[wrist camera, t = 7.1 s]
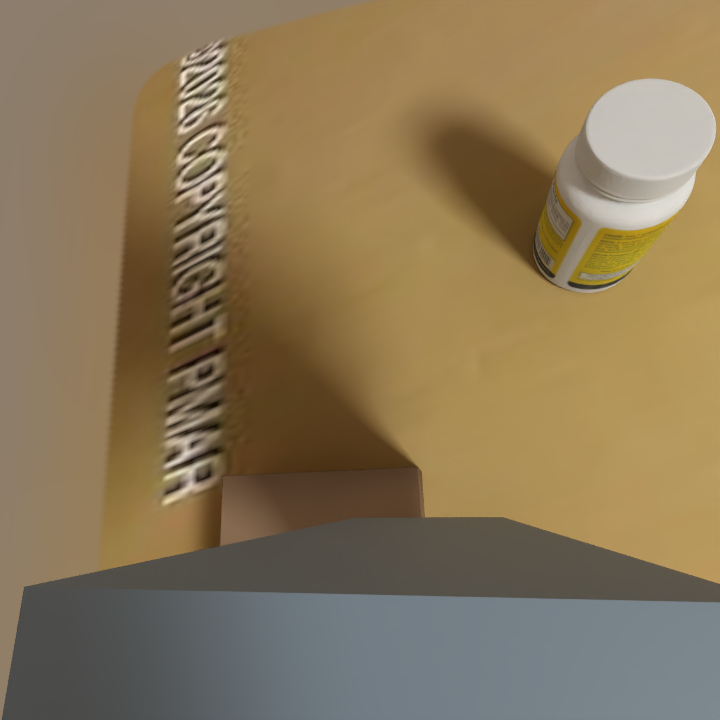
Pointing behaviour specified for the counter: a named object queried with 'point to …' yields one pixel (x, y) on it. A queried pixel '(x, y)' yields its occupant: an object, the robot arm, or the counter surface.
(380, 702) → the slate block
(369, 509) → the walnut block
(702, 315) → the counter surface
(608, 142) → the supplement bottle
